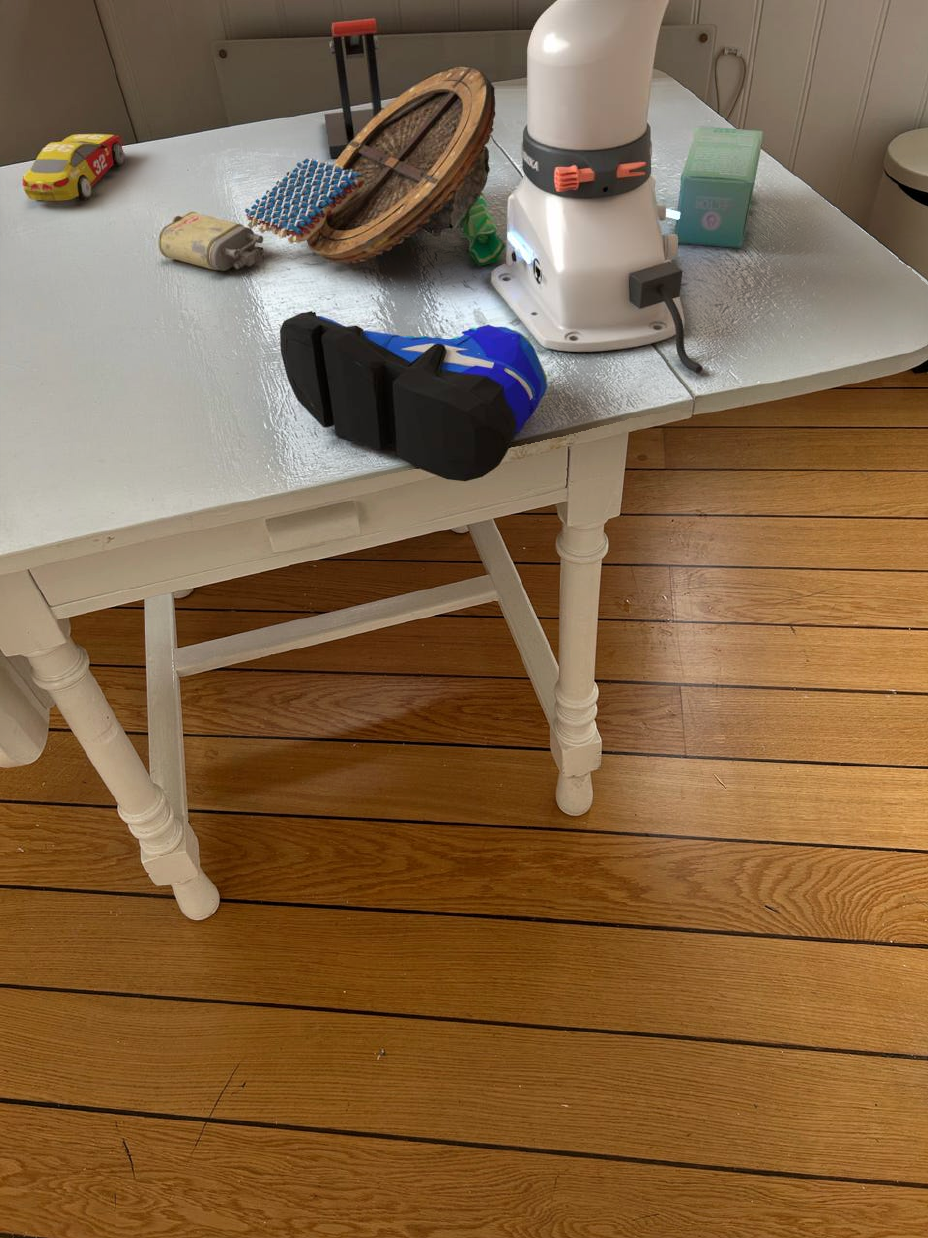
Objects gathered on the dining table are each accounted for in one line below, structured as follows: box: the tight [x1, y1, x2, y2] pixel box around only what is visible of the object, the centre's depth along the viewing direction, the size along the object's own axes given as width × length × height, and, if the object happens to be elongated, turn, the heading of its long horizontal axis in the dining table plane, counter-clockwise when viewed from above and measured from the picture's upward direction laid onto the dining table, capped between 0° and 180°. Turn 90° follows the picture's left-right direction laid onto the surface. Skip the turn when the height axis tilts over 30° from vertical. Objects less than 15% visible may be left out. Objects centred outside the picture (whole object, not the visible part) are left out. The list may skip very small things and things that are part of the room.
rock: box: [419, 145, 491, 239], centre depth 101 cm, size 17×10×10 cm
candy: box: [459, 191, 506, 267], centre depth 102 cm, size 12×3×4 cm
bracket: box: [324, 25, 385, 160], centre depth 121 cm, size 12×10×13 cm
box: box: [674, 126, 764, 249], centre depth 101 cm, size 7×14×8 cm, turn 164°
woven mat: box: [244, 158, 364, 245], centre depth 99 cm, size 10×11×2 cm
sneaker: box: [279, 310, 548, 482], centre depth 79 cm, size 9×24×15 cm
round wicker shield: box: [305, 66, 496, 264], centre depth 99 cm, size 25×3×25 cm
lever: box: [331, 18, 378, 60], centre depth 113 cm, size 12×5×2 cm, turn 9°
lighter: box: [157, 211, 265, 272], centre depth 102 cm, size 7×4×10 cm
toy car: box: [22, 133, 125, 202], centre depth 119 cm, size 8×17×5 cm, turn 171°
